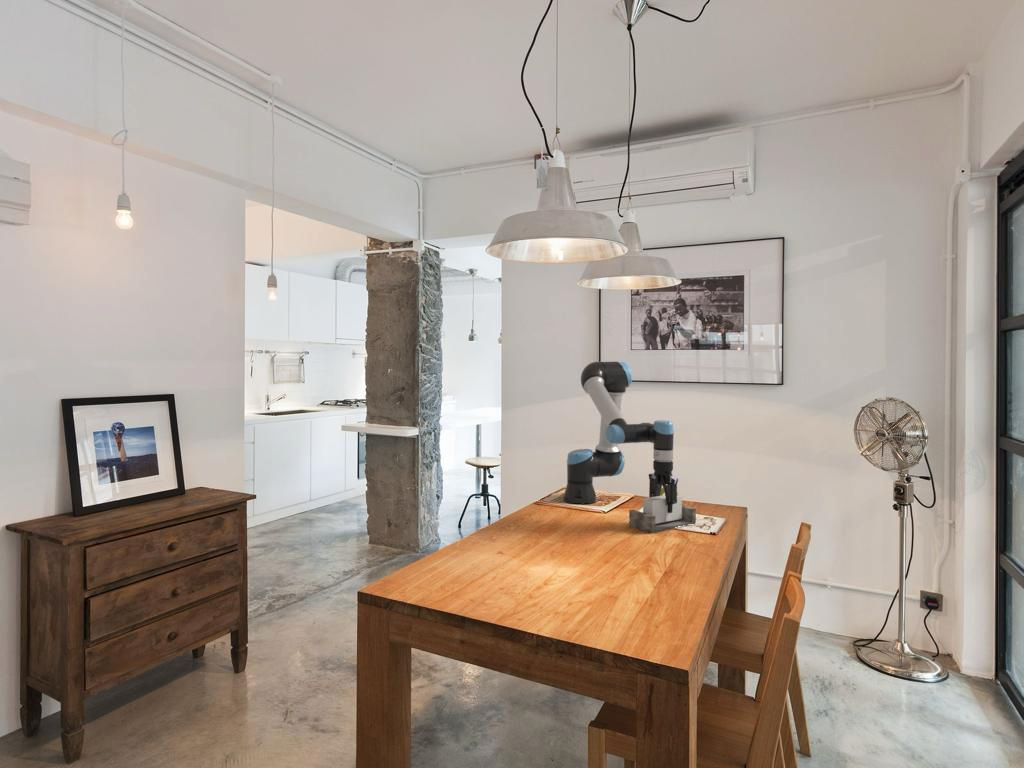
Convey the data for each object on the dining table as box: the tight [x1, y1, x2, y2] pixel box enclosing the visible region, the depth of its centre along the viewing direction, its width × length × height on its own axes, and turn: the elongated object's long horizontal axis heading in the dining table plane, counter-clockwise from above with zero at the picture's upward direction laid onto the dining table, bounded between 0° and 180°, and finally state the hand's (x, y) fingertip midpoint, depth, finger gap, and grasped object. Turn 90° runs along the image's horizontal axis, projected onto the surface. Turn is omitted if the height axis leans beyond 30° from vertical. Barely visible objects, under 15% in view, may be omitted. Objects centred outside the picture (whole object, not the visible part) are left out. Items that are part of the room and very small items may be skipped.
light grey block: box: [642, 494, 683, 524], centre depth 235 cm, size 5×16×9 cm, turn 122°
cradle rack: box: [628, 504, 697, 534], centre depth 235 cm, size 12×24×6 cm, turn 122°
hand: (662, 518), depth 235 cm, fingers closed on light grey block, 5 cm apart
